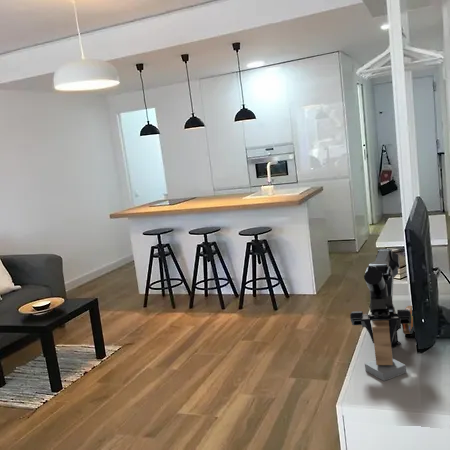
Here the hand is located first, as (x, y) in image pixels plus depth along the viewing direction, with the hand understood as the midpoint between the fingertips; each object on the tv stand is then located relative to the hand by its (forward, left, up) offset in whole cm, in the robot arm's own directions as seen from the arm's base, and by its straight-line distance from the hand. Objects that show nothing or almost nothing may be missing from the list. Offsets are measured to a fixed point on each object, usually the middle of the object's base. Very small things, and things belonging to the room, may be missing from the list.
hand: (382, 342), depth 160 cm
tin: (-29, -20, -11) cm, 37 cm away
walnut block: (-1, -1, -7) cm, 7 cm away
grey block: (-1, -1, -11) cm, 11 cm away
